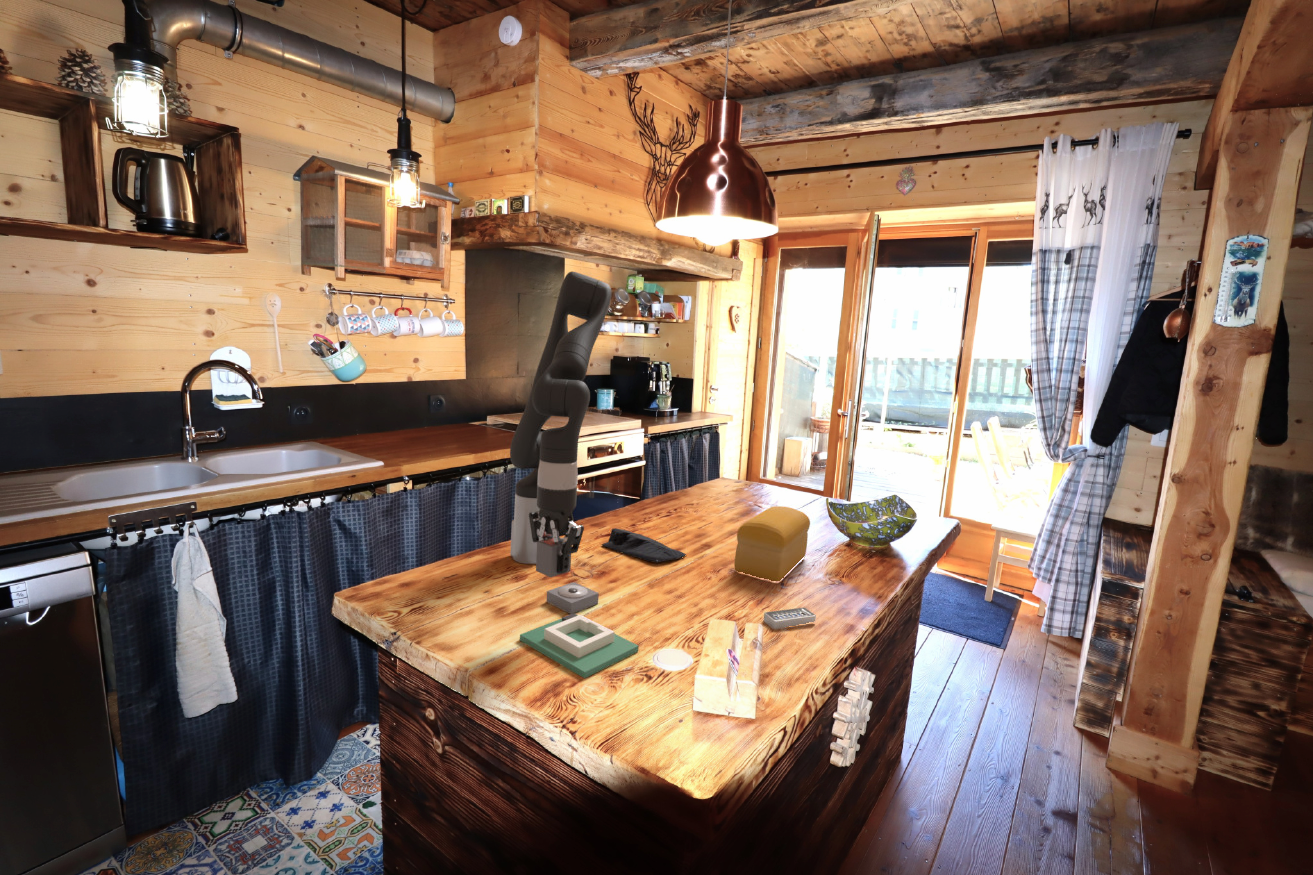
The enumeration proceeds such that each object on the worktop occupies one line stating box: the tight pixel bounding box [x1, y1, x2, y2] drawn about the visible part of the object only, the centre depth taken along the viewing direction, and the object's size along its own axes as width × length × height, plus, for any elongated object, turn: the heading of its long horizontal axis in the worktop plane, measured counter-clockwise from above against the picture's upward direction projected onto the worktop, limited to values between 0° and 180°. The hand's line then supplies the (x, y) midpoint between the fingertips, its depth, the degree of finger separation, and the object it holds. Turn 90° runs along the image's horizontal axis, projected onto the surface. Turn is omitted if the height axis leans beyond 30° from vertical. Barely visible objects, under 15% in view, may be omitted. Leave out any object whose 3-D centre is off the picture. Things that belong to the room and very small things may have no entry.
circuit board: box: [519, 613, 640, 679], centre depth 119 cm, size 18×14×3 cm
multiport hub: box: [763, 607, 817, 630], centre depth 137 cm, size 4×11×2 cm, turn 114°
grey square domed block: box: [545, 581, 600, 615], centre depth 137 cm, size 8×8×3 cm
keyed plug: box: [535, 538, 572, 578], centre depth 121 cm, size 4×6×6 cm
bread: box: [734, 505, 811, 581], centre depth 170 cm, size 24×13×15 cm, turn 151°
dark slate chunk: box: [601, 527, 687, 564], centre depth 174 cm, size 15×22×5 cm
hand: (553, 568), depth 122 cm, fingers closed on keyed plug, 4 cm apart
